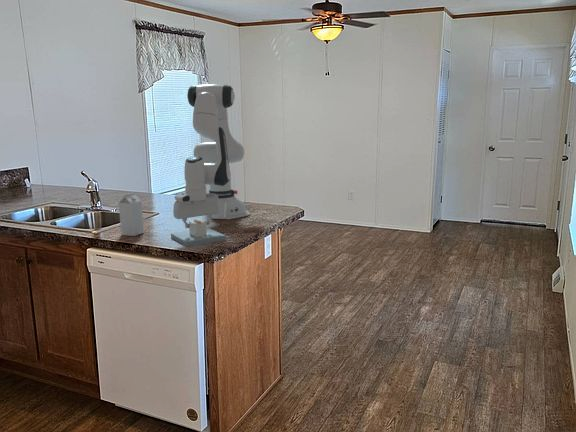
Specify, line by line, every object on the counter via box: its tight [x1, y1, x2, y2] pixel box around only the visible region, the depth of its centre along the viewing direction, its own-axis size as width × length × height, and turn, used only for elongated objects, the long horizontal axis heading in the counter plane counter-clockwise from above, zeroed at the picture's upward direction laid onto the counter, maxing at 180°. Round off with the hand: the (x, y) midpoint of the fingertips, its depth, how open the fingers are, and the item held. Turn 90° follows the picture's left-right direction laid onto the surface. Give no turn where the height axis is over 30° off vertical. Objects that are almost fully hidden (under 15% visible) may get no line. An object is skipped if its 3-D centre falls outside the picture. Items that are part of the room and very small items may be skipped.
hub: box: [170, 227, 227, 248], centre depth 222 cm, size 18×18×5 cm
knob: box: [188, 218, 207, 237], centre depth 222 cm, size 5×7×6 cm
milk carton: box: [118, 191, 145, 237], centre depth 231 cm, size 7×7×19 cm
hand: (197, 226), depth 222 cm, fingers open, 8 cm apart
